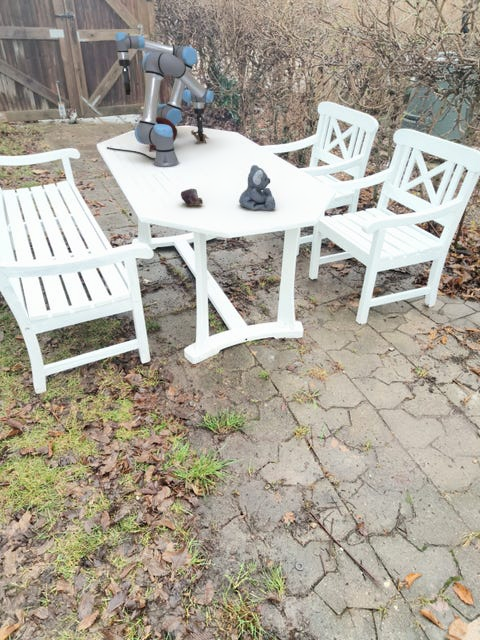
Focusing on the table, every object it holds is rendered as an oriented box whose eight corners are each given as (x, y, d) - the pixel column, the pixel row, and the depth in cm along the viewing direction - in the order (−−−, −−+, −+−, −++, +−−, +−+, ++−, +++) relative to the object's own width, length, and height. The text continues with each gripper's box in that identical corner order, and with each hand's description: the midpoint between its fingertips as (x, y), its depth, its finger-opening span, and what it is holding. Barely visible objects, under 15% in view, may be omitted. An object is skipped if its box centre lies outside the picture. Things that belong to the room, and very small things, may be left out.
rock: (196, 202, 238) (178, 205, 233) (194, 185, 234) (176, 188, 230) (205, 205, 228) (187, 208, 224) (203, 188, 224) (185, 191, 220)
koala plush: (276, 211, 223) (277, 171, 212) (240, 212, 222) (240, 172, 211) (271, 199, 237) (272, 161, 226) (237, 200, 236) (237, 162, 225)
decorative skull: (144, 123, 333) (138, 119, 309) (175, 116, 332) (171, 112, 308) (152, 153, 340) (146, 152, 316) (182, 146, 339) (179, 144, 315)
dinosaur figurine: (192, 144, 338) (191, 130, 333) (191, 142, 343) (190, 129, 338) (210, 143, 340) (209, 130, 335) (209, 141, 345) (208, 128, 339)
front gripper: (205, 110, 319) (207, 143, 331) (202, 105, 337) (204, 136, 350) (195, 110, 318) (197, 143, 330) (192, 105, 336) (194, 136, 349)
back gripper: (129, 60, 299) (133, 95, 311) (130, 57, 320) (134, 90, 332) (117, 60, 298) (122, 96, 310) (119, 57, 319) (123, 91, 331)
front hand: (200, 139), depth 340 cm, fingers open, 10 cm apart
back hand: (128, 93), depth 321 cm, fingers open, 13 cm apart
